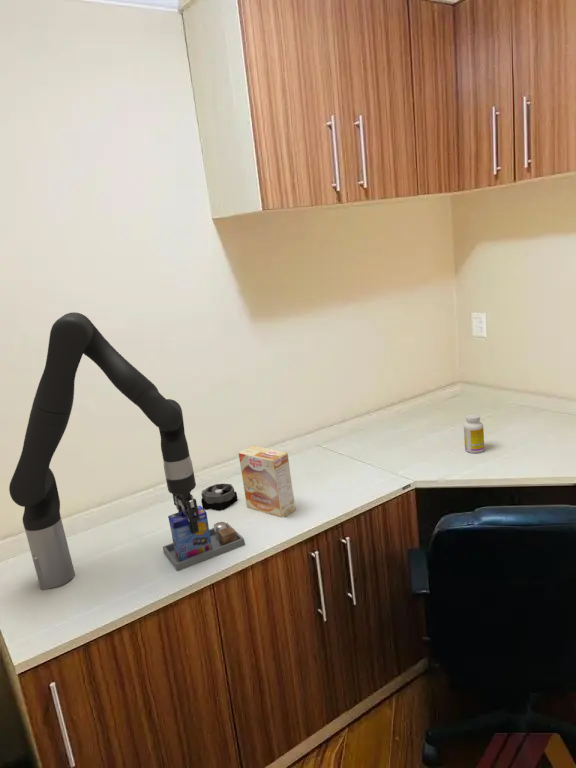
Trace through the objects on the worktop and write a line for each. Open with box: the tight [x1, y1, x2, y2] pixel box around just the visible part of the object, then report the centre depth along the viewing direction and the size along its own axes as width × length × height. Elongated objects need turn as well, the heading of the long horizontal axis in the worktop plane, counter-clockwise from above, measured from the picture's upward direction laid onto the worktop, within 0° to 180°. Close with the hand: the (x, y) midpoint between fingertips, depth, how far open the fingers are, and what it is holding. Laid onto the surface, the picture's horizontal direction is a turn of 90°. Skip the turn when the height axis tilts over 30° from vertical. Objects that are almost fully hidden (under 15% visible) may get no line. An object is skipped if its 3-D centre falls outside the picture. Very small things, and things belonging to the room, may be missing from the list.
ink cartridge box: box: [167, 505, 212, 562], centre depth 162 cm, size 10×6×14 cm, turn 118°
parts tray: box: [162, 522, 246, 572], centre depth 165 cm, size 20×12×2 cm, turn 119°
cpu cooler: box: [200, 483, 239, 512], centre depth 192 cm, size 10×6×10 cm
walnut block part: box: [217, 526, 237, 546], centre depth 166 cm, size 4×4×4 cm
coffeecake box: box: [238, 445, 296, 518], centre depth 183 cm, size 15×7×20 cm, turn 49°
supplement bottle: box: [463, 413, 485, 454], centre depth 208 cm, size 7×7×13 cm
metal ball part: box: [213, 521, 227, 540], centre depth 170 cm, size 4×4×4 cm
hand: (189, 526), depth 162 cm, fingers open, 8 cm apart
